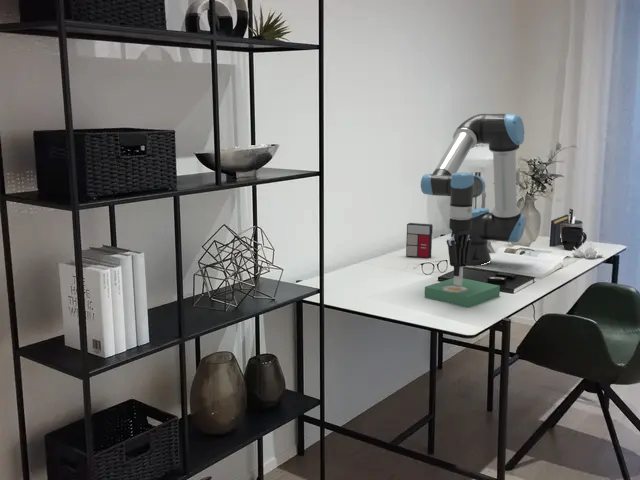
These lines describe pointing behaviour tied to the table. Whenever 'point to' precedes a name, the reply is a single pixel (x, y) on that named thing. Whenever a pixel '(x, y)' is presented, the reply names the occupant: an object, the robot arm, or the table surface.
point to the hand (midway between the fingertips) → (457, 284)
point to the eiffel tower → (484, 207)
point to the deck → (462, 292)
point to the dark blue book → (556, 230)
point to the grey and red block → (419, 240)
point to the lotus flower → (586, 252)
